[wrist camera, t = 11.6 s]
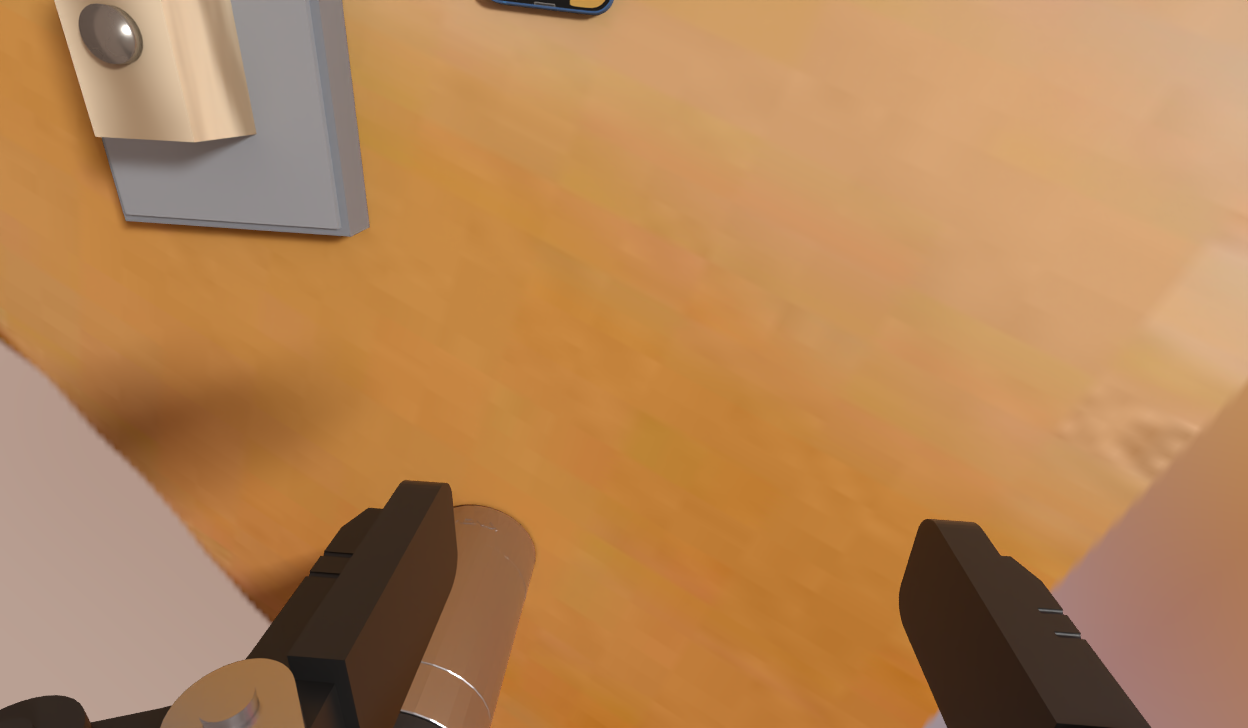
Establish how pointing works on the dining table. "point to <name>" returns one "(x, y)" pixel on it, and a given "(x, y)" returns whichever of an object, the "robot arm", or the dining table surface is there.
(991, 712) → the robot arm
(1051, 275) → the dining table surface
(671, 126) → the dining table surface
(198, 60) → the block
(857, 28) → the dining table surface
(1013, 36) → the dining table surface
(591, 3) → the smartphone
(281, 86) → the grey stepped lid
